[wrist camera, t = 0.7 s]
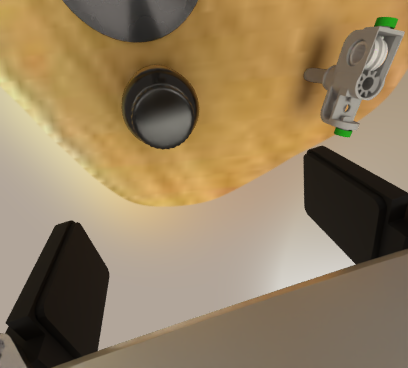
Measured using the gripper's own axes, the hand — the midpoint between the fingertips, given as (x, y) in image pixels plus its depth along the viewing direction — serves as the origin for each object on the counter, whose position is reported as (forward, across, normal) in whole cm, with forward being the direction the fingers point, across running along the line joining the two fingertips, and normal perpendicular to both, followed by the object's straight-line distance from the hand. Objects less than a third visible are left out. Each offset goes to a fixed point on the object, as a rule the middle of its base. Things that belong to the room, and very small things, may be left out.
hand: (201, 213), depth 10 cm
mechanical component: (+23, -18, +1) cm, 29 cm away
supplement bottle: (+23, +1, -1) cm, 23 cm away
